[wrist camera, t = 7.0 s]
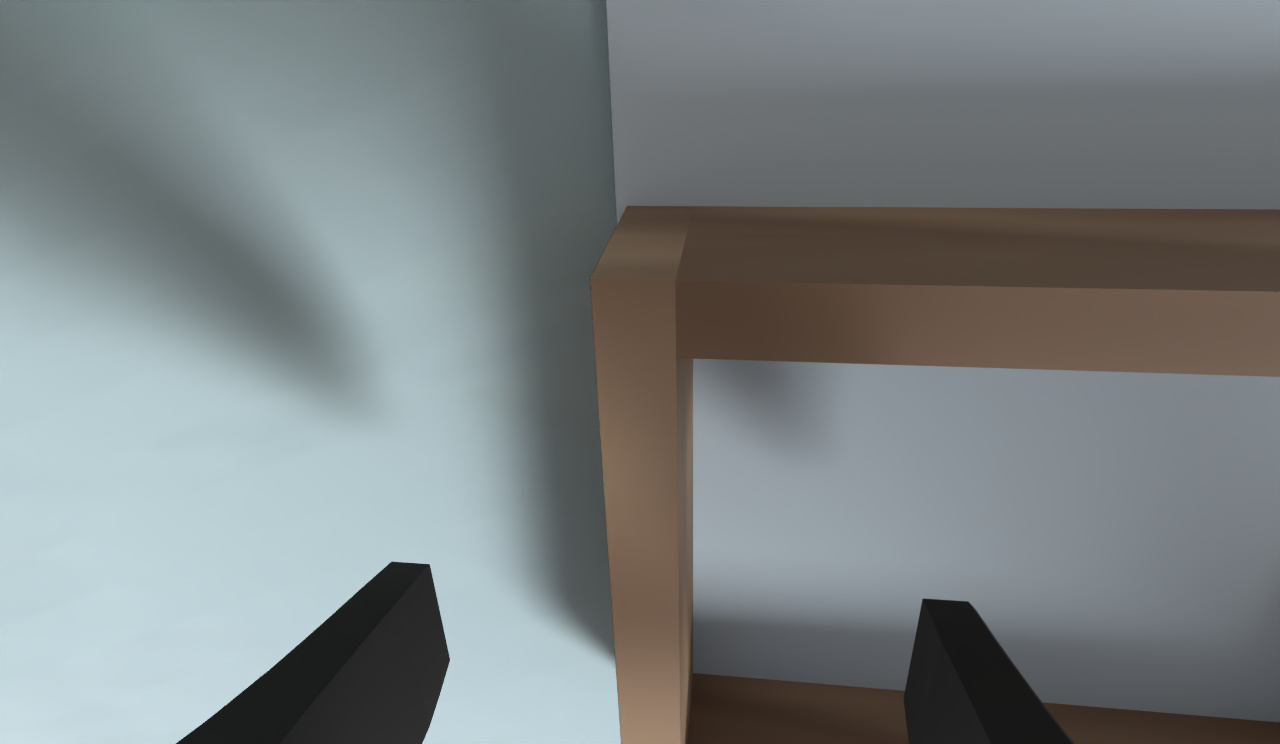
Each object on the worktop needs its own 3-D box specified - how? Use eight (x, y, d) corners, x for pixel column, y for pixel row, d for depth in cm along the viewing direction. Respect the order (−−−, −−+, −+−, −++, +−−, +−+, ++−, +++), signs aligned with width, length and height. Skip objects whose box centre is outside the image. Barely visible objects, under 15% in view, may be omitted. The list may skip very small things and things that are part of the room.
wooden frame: (1360, 764, 15) (1489, 936, 12) (647, 700, 17) (627, 838, 14) (1717, 211, 10) (2068, 306, 7) (627, 206, 12) (590, 279, 9)
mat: (1328, 858, 17) (1337, 872, 17) (645, 786, 19) (644, 798, 18) (1983, -118, 8) (2024, -120, 8) (606, -61, 10) (603, -62, 10)
